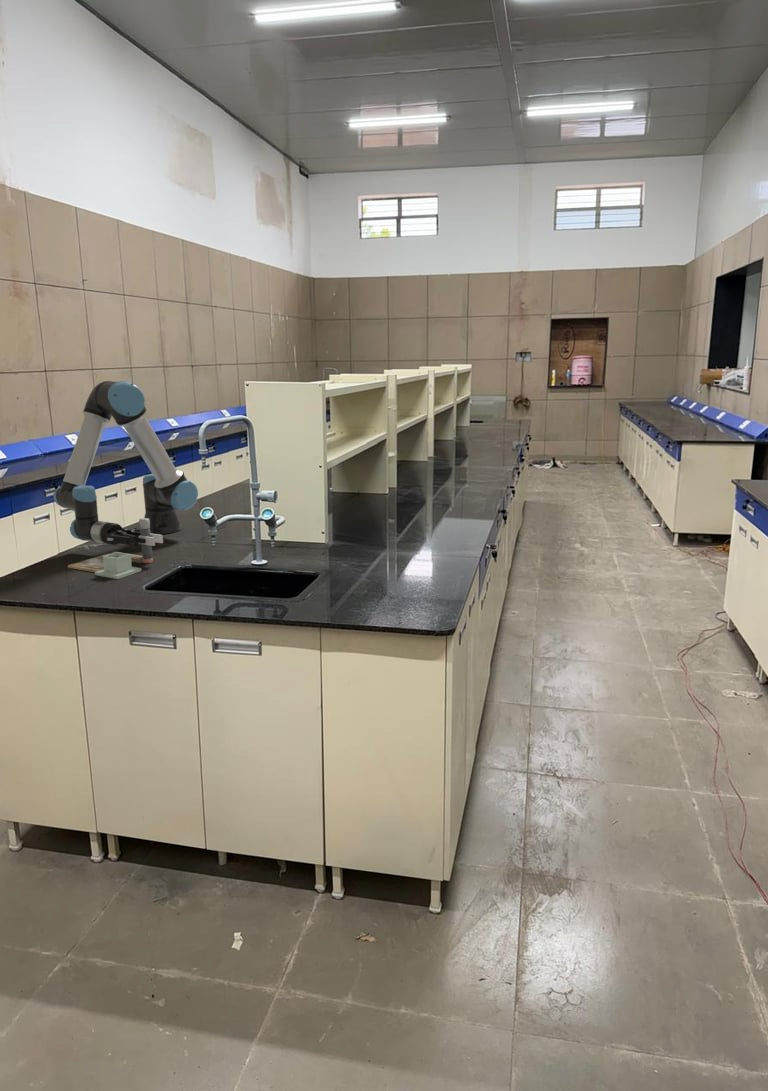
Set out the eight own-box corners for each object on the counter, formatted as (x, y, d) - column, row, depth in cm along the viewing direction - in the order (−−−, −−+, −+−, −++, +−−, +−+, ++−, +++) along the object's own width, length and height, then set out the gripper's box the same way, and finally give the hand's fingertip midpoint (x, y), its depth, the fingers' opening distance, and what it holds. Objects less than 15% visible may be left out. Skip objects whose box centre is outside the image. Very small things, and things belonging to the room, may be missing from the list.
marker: (147, 560, 253) (144, 517, 249) (155, 561, 252) (151, 518, 248) (140, 562, 250) (136, 519, 247) (148, 563, 249) (144, 520, 245)
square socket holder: (119, 567, 245) (117, 549, 244) (141, 571, 241) (139, 553, 239) (95, 574, 236) (93, 557, 235) (117, 579, 232) (115, 560, 230)
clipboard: (114, 553, 262) (114, 549, 262) (143, 558, 256) (143, 554, 255) (68, 567, 245) (67, 563, 244) (97, 573, 239) (97, 568, 238)
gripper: (126, 538, 265) (175, 545, 254) (90, 548, 251) (141, 556, 240) (124, 518, 263) (174, 524, 252) (88, 527, 249) (139, 534, 239)
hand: (157, 540), depth 246 cm, fingers closed on marker, 3 cm apart
